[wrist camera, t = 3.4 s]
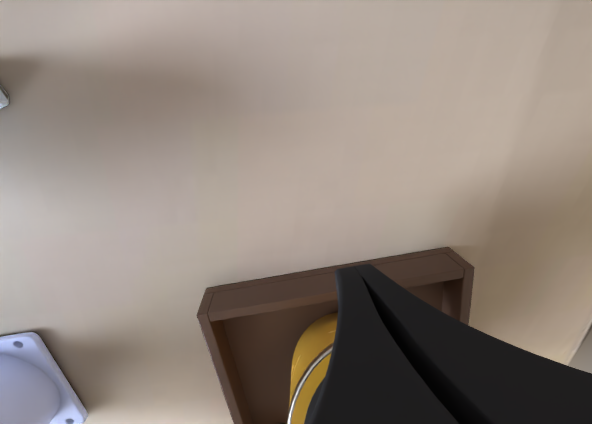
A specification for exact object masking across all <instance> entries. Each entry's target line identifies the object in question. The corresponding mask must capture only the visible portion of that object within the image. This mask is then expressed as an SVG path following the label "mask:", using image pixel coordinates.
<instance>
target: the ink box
mask: <svg viewBox="0 0 592 424" xmlns="http://www.w3.org/2000/svg"><path fill="white" fill-rule="evenodd" d="M8 104H9V95H8V94H7V93H6V91H5V90H4V89H3V87H2V86H1V85H0V108H3V107H5V106H7V105H8Z"/></svg>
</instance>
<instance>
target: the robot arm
mask: <svg viewBox="0 0 592 424" xmlns="http://www.w3.org/2000/svg"><path fill="white" fill-rule="evenodd" d="M335 281H336V290H337V299H338V317H337V326H336V333H335V339H334V344H333V349H332V353H331V357H330V361H329V365H328V369H327V372H326V376H325V379H324V382H323V385H322V388H321V391H320V394H319V397H318V400H317V403H316V406H315V409H314V412H313V414H312V417H311V419H310V422H309V424H592V374H591V373H588V372H584V371H581V370H578V369H575V368H572V367H569V366H566V365H564V364H561V363H558V362H555V361H552V360H550V359H547V358H544V357H541V356H539V355H536V354H533V353H531V352H528V351H526V350H523V349H520V348H518V347H515V346H513V345H511V344H508V343H506V342H504V341H501V340H499V339H497V338H494V337H492V336H490V335H487V334H485V333H483V332H481V331H479V330H477V329H474V328H472V327H470V326H468V325H466V324H464V323H462V322H460V321H458V320H457V319H455V318H453V317H451V316H449V315H447V314H445V313H443V312H441V311H440V310H438V309H436V308H435V307H433V306H431V305H430V304H428V303H426V302H425V301H423V300H421V299H420V298H418V297H417V296H415V295H413V294H412V293H410V292H409V291H407V290H406V289H405V288H403V287H402V286H400V285H399V284H397V283H396V282H394V281H393V280H392V279H390V278H389V277H388V276H386V275H385V274H384V273H382V272H381V271H379V270H378V269H377V268H375V267H374V266H373V265H371V264H370V263H368V264H362V265H357V266H351V267H345V268H339V269H337V270H336V271H335ZM87 417H88V413H87V411H86V410H85V408H84V406H83V405H82V403H81V402H80V400H79V398H78V397H77V395H76V394H75V392H74V390H73V389H72V387H71V386H70V384H69V383H68V381H67V379H66V378H65V376H64V375H63V373H62V371H61V370H60V368H59V367H58V365H57V363H56V362H55V360H54V359H53V357H52V355H51V354H50V352H49V351H48V349H47V347H46V346H45V344H44V343H43V341H42V340H41V338H40V336H39V335H38V334H36V333H33V332H26V333H20V334H14V335H9V336H3V337H0V424H81V423H84V422H85V420H86V419H87Z"/></svg>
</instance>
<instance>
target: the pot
mask: <svg viewBox="0 0 592 424" xmlns="http://www.w3.org/2000/svg"><path fill="white" fill-rule="evenodd" d="M337 317H338V312H336V313H332V314H328V315H326V316H323V317H321V318H320V319H318V320H316V321H315V322H314V323H312V324H311V325H310V326H309V327H308V328H307V329H306V330H305V332H304V333H303V334H302V336H301V337H300V339H299V341H298V343H297V345H296V348H295V351H294V354H293V359H292V369H291V385H290V402H289V412H288V418H287V423H284V422H282V423H278V424H309V422H310V419H311V417H312V414H313V412H314V409H315V406H316V403H317V400H318V397H319V394H320V391H321V388H322V385H323V382H324V379H325V376H326V372H327V369H328V365H329V361H330V357H331V353H332V349H333V344H334V339H335V333H336V326H337Z"/></svg>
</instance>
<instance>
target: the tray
mask: <svg viewBox="0 0 592 424" xmlns="http://www.w3.org/2000/svg"><path fill="white" fill-rule="evenodd" d="M368 263H370V264H371V265H373V266H374V267H375V268H377V269H378V270H379V271H381V272H382V273H384V274H385V275H386V276H388V277H389V278H390V279H392V280H393V281H394V282H396V283H397V284H399V285H400V286H402V287H403V288H405V289H406V290H407V291H409V292H410V293H412V294H413V295H415V296H417V297H418V298H420V299H421V300H423V301H425V302H426V303H428V304H430V305H431V306H433V307H435V308H436V309H438V310H440V311H441V312H443V313H445V314H447V315H449V316H451V317H453V318H455V319H457V320H458V321H460V322H462V323H464V324H466V325H468V322H469V313H470V304H471V295H472V285H473V276H474V267H473V266H472V265H471V264H469V263H468V262H467V261H466V260H464V259H463V258H462V257H461V256H459V255H458V254H457V253H455V252H454V251H453V250H452V249H451V248H449V247H446V248H440V249H434V250H428V251H422V252H416V253H410V254H405V255H399V256H393V257H387V258H381V259H375V260H369V261H363V262H358V263H352V264H346V265H340V266H334V267H328V268H322V269H317V270H311V271H305V272H299V273H293V274H287V275H281V276H275V277H270V278H264V279H258V280H252V281H246V282H240V283H234V284H229V285H223V286H217V287H211V288H206V290H205V293H204V296H203V299H202V302H201V305H200V307H199V310H198V313H197V318H198V321H199V324H200V327H201V330H202V333H203V336H204V339H205V341H206V344H207V347H208V350H209V353H210V356H211V359H212V362H213V365H214V368H215V370H216V373H217V376H218V379H219V382H220V385H221V388H222V391H223V394H224V396H225V399H226V402H227V405H228V408H229V411H230V414H231V417H232V420H233V423H234V424H278V423H282V422H284V423H287V418H288V412H289V402H290V385H291V369H292V359H293V354H294V351H295V348H296V345H297V343H298V341H299V339H300V337H301V336H302V334H303V333H304V332H305V330H306V329H307V328H308V327H309V326H310V325H311V324H312V323H314V322H315V321H316V320H318V319H320V318H321V317H323V316H326V315H328V314H332V313H336V312H338V299H337V290H336V281H335V271H336V270H337V269H339V268H345V267H351V266H357V265H362V264H368Z"/></svg>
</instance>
